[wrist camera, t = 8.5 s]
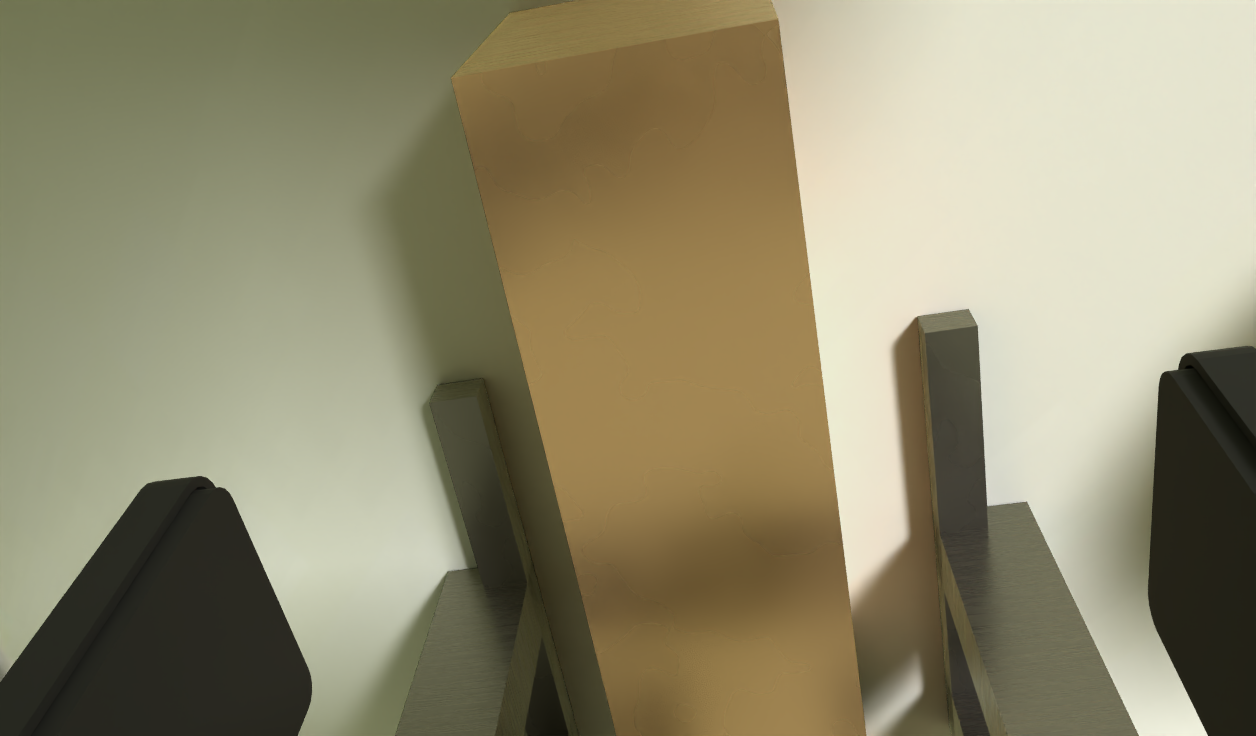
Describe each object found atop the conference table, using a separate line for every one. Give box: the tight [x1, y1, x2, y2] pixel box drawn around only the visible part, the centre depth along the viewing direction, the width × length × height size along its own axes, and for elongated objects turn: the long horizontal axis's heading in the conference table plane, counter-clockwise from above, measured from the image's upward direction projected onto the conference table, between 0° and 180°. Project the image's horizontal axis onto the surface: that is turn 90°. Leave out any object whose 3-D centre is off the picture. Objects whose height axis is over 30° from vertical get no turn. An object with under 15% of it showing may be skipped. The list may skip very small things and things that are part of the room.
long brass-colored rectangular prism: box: [451, 0, 866, 736], centre depth 22 cm, size 20×4×6 cm, turn 11°
